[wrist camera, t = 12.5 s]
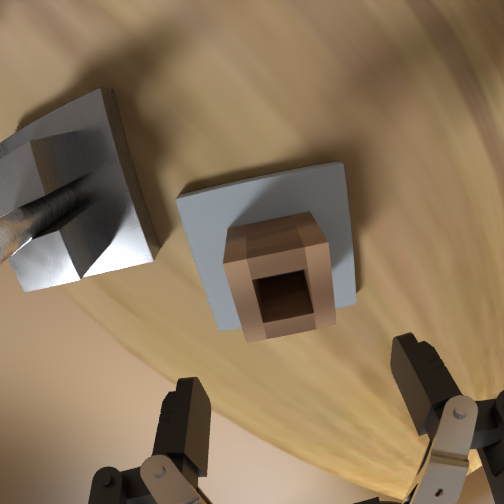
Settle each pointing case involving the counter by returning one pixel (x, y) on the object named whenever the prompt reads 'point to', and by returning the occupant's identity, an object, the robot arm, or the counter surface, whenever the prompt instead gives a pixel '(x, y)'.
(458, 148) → the counter surface
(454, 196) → the counter surface
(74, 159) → the grey block-shaped fixture
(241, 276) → the collar
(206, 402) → the robot arm
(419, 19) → the counter surface
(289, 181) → the mat
